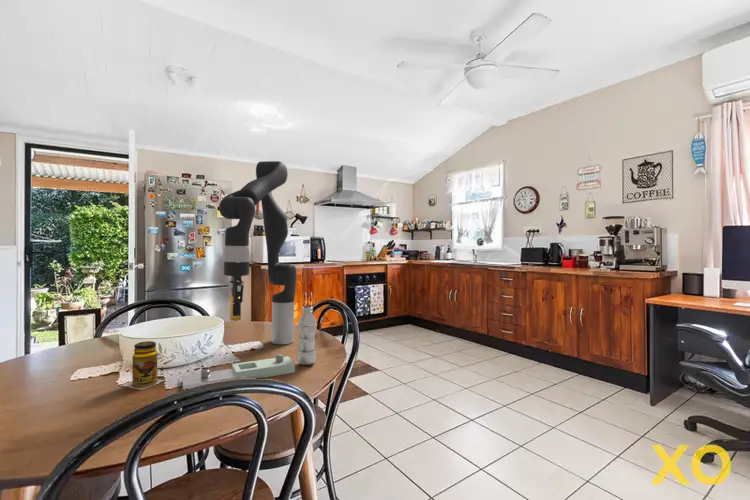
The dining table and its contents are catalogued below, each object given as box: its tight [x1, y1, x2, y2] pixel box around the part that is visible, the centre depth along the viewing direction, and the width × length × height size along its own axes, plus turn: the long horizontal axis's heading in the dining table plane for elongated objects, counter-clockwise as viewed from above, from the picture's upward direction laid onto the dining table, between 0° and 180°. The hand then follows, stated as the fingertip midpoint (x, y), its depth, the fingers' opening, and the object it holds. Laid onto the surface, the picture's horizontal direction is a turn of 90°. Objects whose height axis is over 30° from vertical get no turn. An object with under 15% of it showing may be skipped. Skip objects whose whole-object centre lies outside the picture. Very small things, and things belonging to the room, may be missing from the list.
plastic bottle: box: [296, 305, 317, 366], centre depth 122 cm, size 6×7×20 cm
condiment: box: [120, 340, 165, 391], centre depth 103 cm, size 7×8×12 cm
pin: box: [229, 292, 242, 322], centre depth 111 cm, size 3×3×9 cm
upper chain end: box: [231, 353, 296, 378], centre depth 113 cm, size 8×18×5 cm, turn 120°
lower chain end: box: [181, 367, 264, 391], centre depth 107 cm, size 8×22×4 cm, turn 120°
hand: (235, 314), depth 111 cm, fingers closed on pin, 3 cm apart
